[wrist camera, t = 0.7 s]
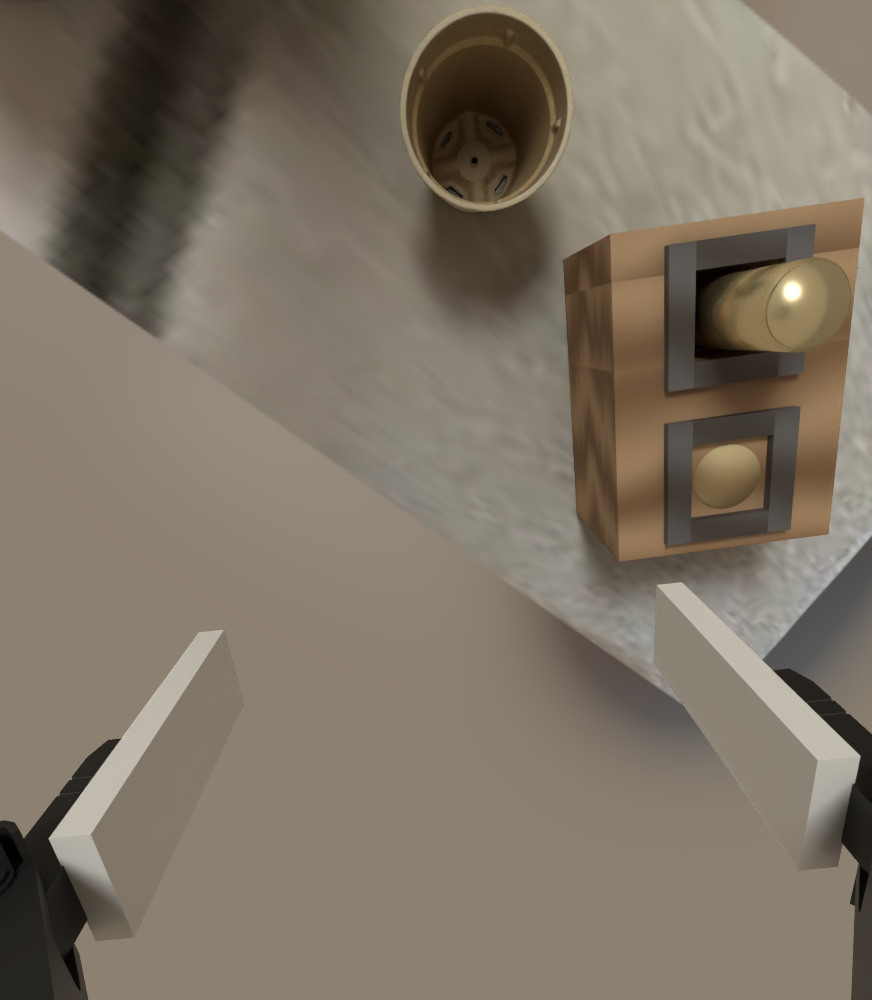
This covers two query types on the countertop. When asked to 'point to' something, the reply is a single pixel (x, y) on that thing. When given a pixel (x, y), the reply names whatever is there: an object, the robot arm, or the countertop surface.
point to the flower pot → (486, 107)
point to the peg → (773, 307)
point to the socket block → (701, 389)
